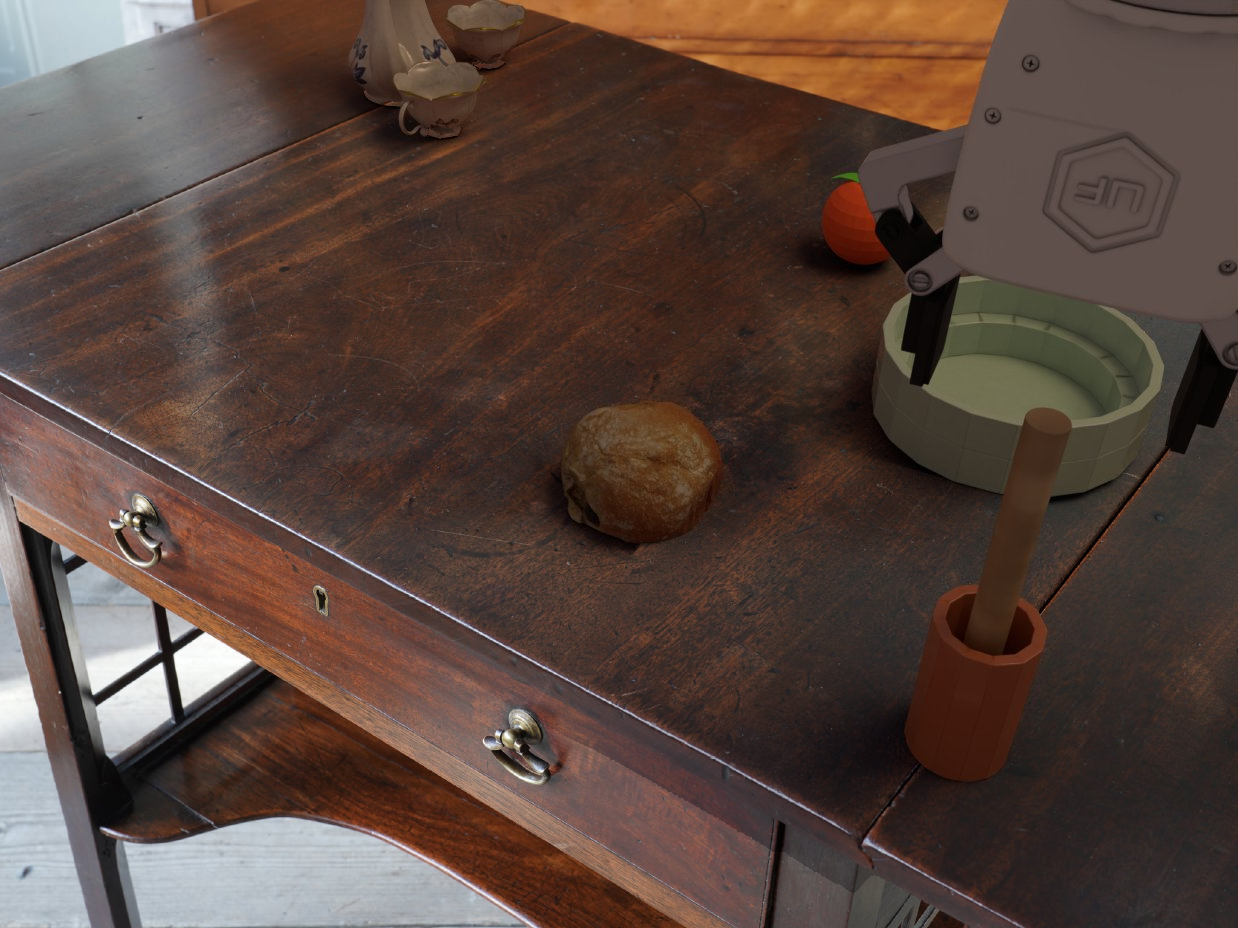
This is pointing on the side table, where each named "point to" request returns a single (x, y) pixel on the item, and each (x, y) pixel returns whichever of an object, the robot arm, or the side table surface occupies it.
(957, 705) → the holder
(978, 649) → the stick
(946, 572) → the side table surface
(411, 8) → the chinaware
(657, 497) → the bread roll
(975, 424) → the bowl
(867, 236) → the clementine
